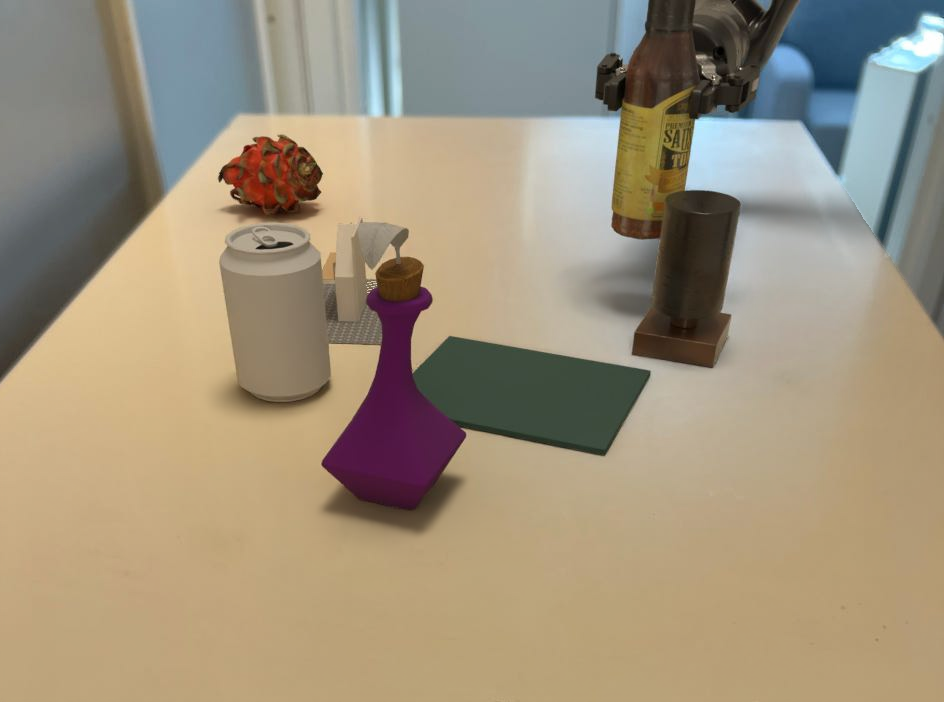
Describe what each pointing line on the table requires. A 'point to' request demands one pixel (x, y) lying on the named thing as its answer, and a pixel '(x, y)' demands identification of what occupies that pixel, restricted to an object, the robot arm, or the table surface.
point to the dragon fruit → (273, 175)
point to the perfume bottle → (394, 392)
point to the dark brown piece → (690, 279)
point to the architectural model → (349, 292)
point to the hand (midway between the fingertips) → (653, 101)
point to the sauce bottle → (655, 120)
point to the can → (276, 311)
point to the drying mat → (530, 393)
